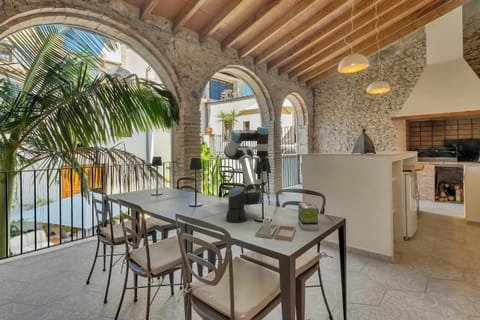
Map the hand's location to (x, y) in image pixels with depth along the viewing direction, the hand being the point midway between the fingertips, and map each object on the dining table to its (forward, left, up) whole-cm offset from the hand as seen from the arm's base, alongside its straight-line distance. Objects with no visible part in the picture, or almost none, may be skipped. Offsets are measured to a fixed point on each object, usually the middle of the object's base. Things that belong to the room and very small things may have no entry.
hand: (262, 182), depth 164 cm
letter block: (+6, -11, -30) cm, 32 cm away
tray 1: (+6, -11, -30) cm, 32 cm away
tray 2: (+18, -11, -30) cm, 36 cm away
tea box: (+29, +9, -30) cm, 43 cm away
